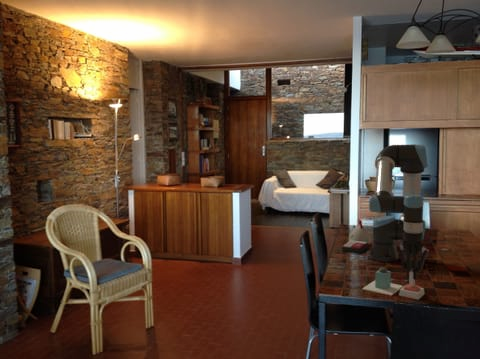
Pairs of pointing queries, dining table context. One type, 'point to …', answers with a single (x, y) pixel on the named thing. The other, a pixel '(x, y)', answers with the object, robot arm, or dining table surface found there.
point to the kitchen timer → (361, 234)
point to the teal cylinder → (382, 278)
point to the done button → (412, 288)
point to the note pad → (389, 291)
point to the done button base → (411, 293)
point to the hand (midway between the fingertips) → (411, 286)
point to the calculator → (355, 246)
